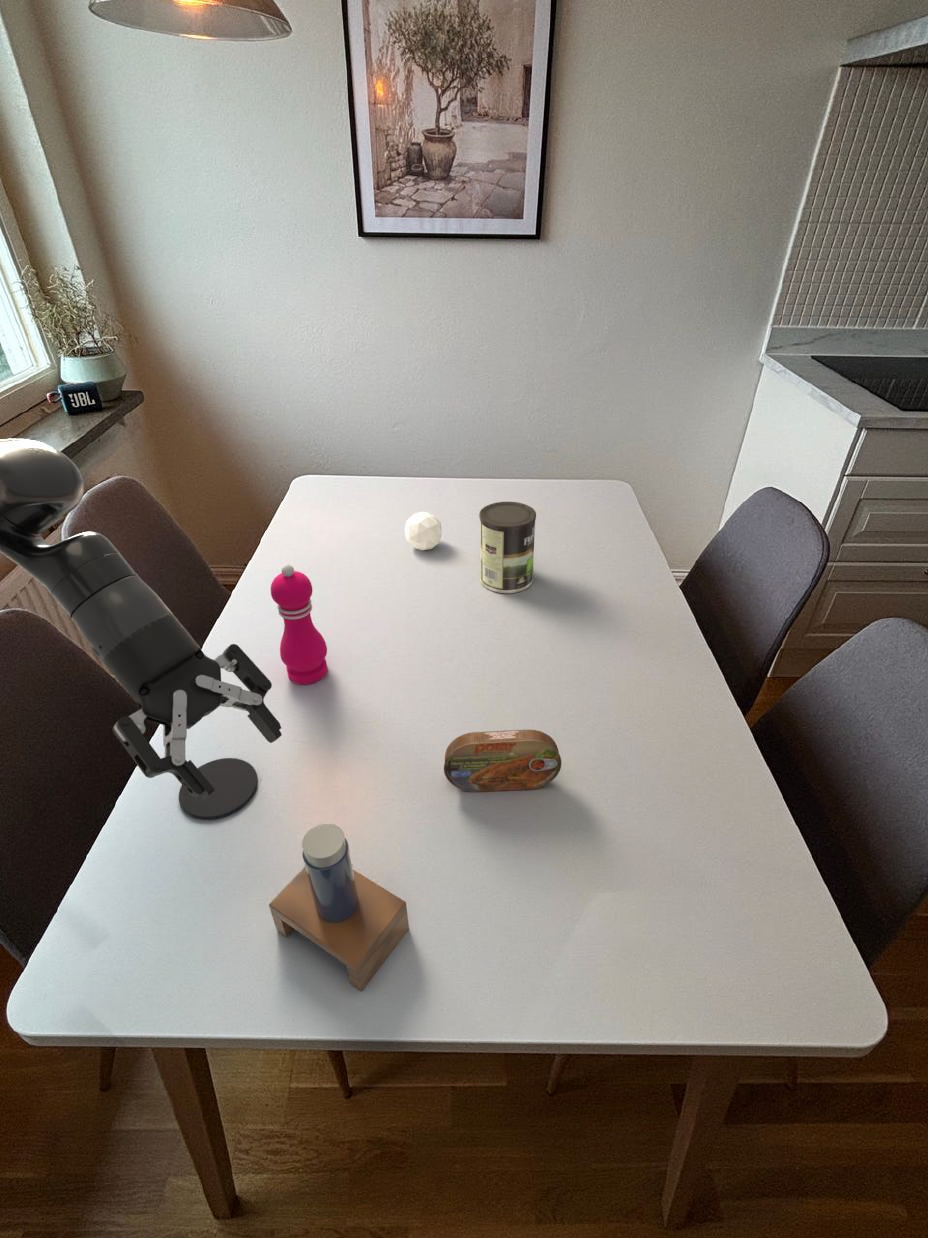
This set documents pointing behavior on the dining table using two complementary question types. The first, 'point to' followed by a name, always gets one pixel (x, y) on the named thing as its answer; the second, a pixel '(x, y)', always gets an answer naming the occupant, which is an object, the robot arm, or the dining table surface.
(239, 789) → the mat
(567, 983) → the dining table surface
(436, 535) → the geometric ball
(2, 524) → the robot arm
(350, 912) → the cylinder
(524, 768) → the tin
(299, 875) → the shelf
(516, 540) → the coffee can
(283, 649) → the pepper mill
